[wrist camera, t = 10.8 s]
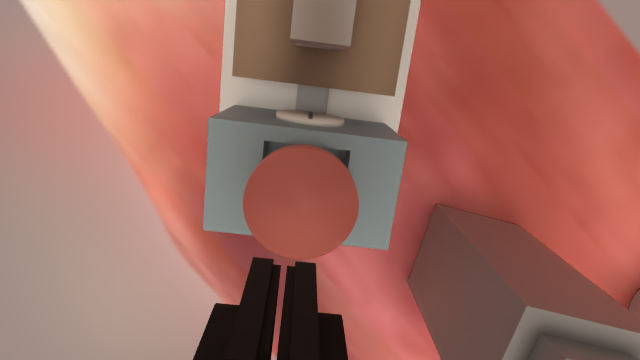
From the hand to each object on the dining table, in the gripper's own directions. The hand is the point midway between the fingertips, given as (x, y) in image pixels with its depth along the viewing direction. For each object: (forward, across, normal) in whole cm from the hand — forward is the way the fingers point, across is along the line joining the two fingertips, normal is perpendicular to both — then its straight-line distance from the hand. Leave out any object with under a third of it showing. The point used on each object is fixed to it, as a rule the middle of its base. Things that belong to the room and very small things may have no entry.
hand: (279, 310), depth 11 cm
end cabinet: (+18, -1, -1) cm, 18 cm away
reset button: (+11, 0, 0) cm, 11 cm away
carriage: (+16, -1, -9) cm, 19 cm away
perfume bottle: (+19, -14, +6) cm, 24 cm away
